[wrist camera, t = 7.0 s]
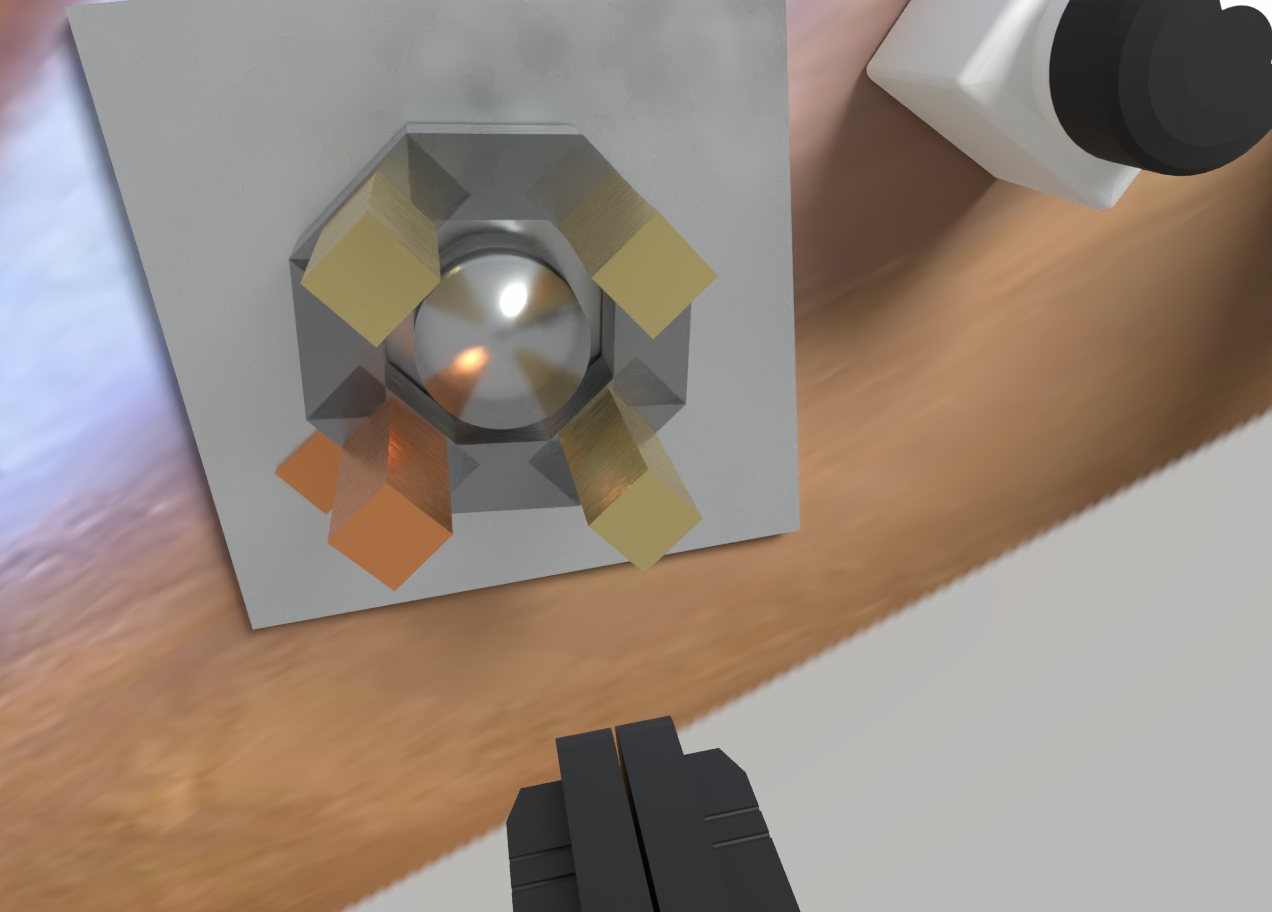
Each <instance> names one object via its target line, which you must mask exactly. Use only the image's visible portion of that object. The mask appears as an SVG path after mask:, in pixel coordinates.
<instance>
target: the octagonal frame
mask: <svg viewBox="0 0 1272 912" xmlns="http://www.w3.org/2000/svg"><path fill="white" fill-rule="evenodd" d="M447 220H549V221H550V222H551V223H552V224H553V225H554V226H555V227H556V228H557V229H558V230H559V231H560V232H561V233H562V234H563V235H564V236H565V237H566V238H567V240H568V241H569V243H570V244H571V246H572V248H573V249H574V251H575V252H576V254H577V256H578V257H579V259H580V261H581V262H582V264H583V265H584V267H585V269H586V270H587V272H588V273H589V275H590V277H591V278H592V279H593V280H594V281H595V282H596V283H597V284H598V285H599V286H600V287H601V288H602V289H603V318H602V355H601V356H600V357H599V358H598V359H597V360H596V361H595V362H594V363H593V364H592V365H591V366H590V367H589V368H588V369H587V370H586V372H585V375H584V377H583V379H582V381H581V383H580V385H579V387H578V388H577V390H576V391H575V393H574V394H573V396H572V397H571V398H570V399H569V400H568V401H567V402H566V403H565V404H564V405H563V406H562V407H561V408H560V409H558V410H557V411H556V412H554V413H553V414H551V415H550V416H548V417H546V418H544V419H542V420H540V421H538V422H536V423H533V424H530V425H528V426H523V427H519V428H512V429H490V428H483V427H479V426H476V425H472V424H469V423H467V422H465V421H462V420H460V419H458V418H454V417H452V416H451V415H450V414H449V413H448V412H446V411H445V410H444V409H443V408H442V407H440V406H439V405H438V404H437V403H436V402H434V401H433V400H432V399H431V398H430V397H429V396H427V395H426V394H425V393H424V392H423V391H421V390H420V389H419V388H418V387H417V386H415V385H414V384H413V383H412V382H411V381H409V380H408V379H407V378H406V377H405V376H403V375H402V374H401V373H400V372H399V371H398V370H396V369H395V368H394V367H393V366H392V365H390V364H389V363H388V362H387V350H386V337H387V336H388V335H389V334H390V333H391V332H392V331H393V330H394V329H395V328H396V327H397V326H398V325H399V324H400V323H401V322H402V321H403V320H404V319H405V318H406V317H407V316H408V314H409V313H410V312H411V311H412V310H413V309H414V308H415V307H416V306H417V305H418V304H419V303H420V302H421V301H422V300H423V299H424V298H425V297H426V296H427V295H428V294H429V293H430V292H431V291H432V290H433V289H434V288H435V287H436V286H437V285H438V284H439V282H440V281H441V275H440V263H439V252H438V240H437V230H438V229H439V228H440V227H441V226H442V225H443V224H444V223H445V222H446V221H447ZM289 266H290V275H291V284H292V294H293V303H294V312H295V322H296V331H297V340H298V350H299V359H300V368H301V378H302V387H303V396H304V406H305V415H306V421H308V422H309V423H310V424H312V425H313V426H314V427H315V428H317V429H318V430H319V431H321V432H322V433H323V434H324V435H326V436H327V437H328V438H330V439H331V440H332V441H334V442H335V443H336V444H337V445H339V446H340V447H341V448H343V449H342V455H341V461H340V467H339V473H338V479H337V486H336V492H335V498H334V504H333V510H332V516H331V522H330V528H329V534H328V540H327V543H328V544H330V545H331V546H332V547H334V548H335V549H336V550H338V551H339V552H341V553H342V554H343V555H345V556H346V557H348V558H349V559H350V560H352V561H353V562H354V563H356V564H357V565H359V566H360V567H361V568H363V569H364V570H366V571H367V572H368V573H370V574H371V575H373V576H374V577H375V578H377V579H378V580H379V581H381V582H382V583H384V584H385V585H386V586H388V587H389V588H391V589H392V590H393V591H396V590H397V589H398V588H399V587H400V586H401V585H402V584H403V583H404V582H405V581H406V580H407V579H408V578H409V577H410V576H411V575H412V574H413V573H414V572H415V571H416V570H417V569H418V568H419V567H420V566H421V565H422V564H423V563H424V562H426V561H427V560H428V559H429V558H430V557H431V556H432V555H433V554H434V553H435V552H436V551H437V550H438V549H439V548H440V547H441V546H442V545H443V544H444V543H445V542H446V541H447V540H448V539H449V538H450V537H451V536H452V535H453V528H452V514H455V513H472V512H489V511H505V510H522V509H539V508H555V507H572V506H580V505H582V508H583V511H584V514H585V517H586V521H587V524H588V526H589V527H590V528H591V529H592V530H594V531H595V532H596V533H597V534H598V535H599V536H601V537H602V538H603V539H604V540H605V541H607V542H608V543H609V544H610V545H611V546H613V547H614V548H615V549H616V550H617V551H618V552H620V553H621V554H622V555H623V556H624V557H626V558H627V559H628V560H629V561H630V562H632V563H633V564H634V565H635V566H636V567H637V568H639V569H640V570H641V571H642V572H643V573H645V572H646V571H647V570H648V569H649V568H650V567H652V566H653V565H654V564H655V563H656V562H657V561H658V560H659V559H660V558H661V557H662V556H663V555H664V554H666V553H667V552H668V551H669V550H670V549H671V548H672V547H673V546H674V545H675V544H676V543H677V542H678V541H680V540H681V539H682V538H683V537H684V536H685V535H686V534H687V533H688V532H689V531H690V530H691V529H692V528H694V527H695V526H696V525H697V524H698V523H699V522H700V521H701V520H702V519H703V518H702V516H701V514H700V513H699V511H698V509H697V507H696V505H695V503H694V502H693V500H692V498H691V496H690V494H689V493H688V491H687V489H686V487H685V485H684V483H683V482H682V480H681V478H680V476H679V474H678V473H677V471H676V469H675V467H674V465H673V463H672V462H671V460H670V458H669V456H668V454H667V453H666V451H665V449H664V447H663V445H662V443H661V442H660V440H659V438H658V436H657V434H656V433H657V432H658V431H659V430H660V429H661V428H662V427H663V426H664V425H665V424H666V423H667V422H668V421H669V420H670V419H671V418H672V417H673V416H674V415H675V414H676V413H677V412H678V411H680V410H681V409H682V408H683V407H684V406H685V405H686V396H687V377H688V358H689V340H690V321H691V303H692V301H693V300H694V299H695V298H696V297H697V296H698V295H699V294H700V293H701V292H703V291H704V290H705V289H706V288H707V287H708V286H709V285H710V284H711V283H712V282H713V281H714V280H715V279H716V278H717V277H718V275H717V274H716V273H715V272H714V271H713V270H712V269H711V267H710V266H709V265H708V264H707V263H706V262H705V261H704V260H703V259H702V258H701V257H700V256H699V255H698V254H697V252H696V251H695V250H694V249H693V248H692V247H691V246H690V245H689V244H688V243H687V242H686V241H685V240H684V239H683V237H682V236H681V235H680V234H679V233H678V232H677V231H676V230H675V229H674V228H673V227H672V226H671V225H670V224H669V222H668V221H667V220H666V219H665V218H664V217H663V216H662V215H661V214H660V213H659V212H658V211H657V210H656V209H655V208H654V207H653V206H652V205H650V204H649V203H648V202H647V201H646V200H645V199H644V198H642V197H641V196H640V195H639V194H638V193H637V192H636V191H635V190H634V189H633V188H632V187H631V186H630V184H629V183H628V182H627V181H626V180H625V179H624V178H623V177H622V176H621V175H620V174H619V173H618V172H617V171H616V169H615V168H614V167H613V166H612V165H611V164H610V163H609V162H608V161H607V160H606V159H605V158H604V157H603V156H602V154H601V153H600V152H599V151H598V150H597V149H596V148H595V147H594V146H593V145H592V144H591V143H590V142H589V141H588V139H587V138H586V137H585V136H584V135H583V134H582V133H580V132H579V131H578V130H577V129H576V128H574V127H573V126H572V125H484V124H406V125H405V126H404V128H403V129H402V130H401V131H400V132H399V133H398V134H397V135H396V136H395V137H394V138H393V139H392V140H391V141H390V143H389V144H388V145H387V146H386V147H385V148H384V149H383V150H382V151H381V152H380V153H379V154H378V155H377V157H376V158H375V159H374V160H373V161H372V162H371V163H370V164H369V165H368V166H367V167H366V168H365V169H364V171H363V172H362V173H361V174H360V175H359V176H358V177H357V178H356V179H355V180H354V181H353V182H352V183H351V184H350V186H349V187H348V188H347V189H346V190H345V191H344V192H343V193H342V194H341V195H340V196H339V197H338V198H337V200H336V201H335V202H334V203H333V204H332V205H331V206H330V207H329V208H328V209H327V210H326V211H325V212H324V213H323V215H322V216H321V217H320V218H319V219H318V220H317V221H316V222H315V223H314V224H313V225H312V226H311V227H310V229H309V230H308V231H307V232H306V233H305V234H304V235H303V236H302V237H301V238H300V239H299V240H298V241H297V243H296V245H295V247H294V249H293V251H292V253H291V255H290V258H289Z"/></svg>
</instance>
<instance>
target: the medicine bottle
mask: <svg viewBox="0 0 1272 912" xmlns="http://www.w3.org/2000/svg"><path fill="white" fill-rule="evenodd" d="M866 71H867V75H868V76H869V78H870V79H871V80H872V81H874V82H875V83H876V84H877V85H879V86H880V87H881V88H882V89H884V90H885V91H886V92H888V93H889V94H890V95H891V96H893V97H894V98H895V99H896V100H898V101H899V102H900V103H902V104H903V105H904V106H905V107H907V108H908V109H909V110H910V111H912V112H913V113H914V114H916V115H917V116H918V117H919V118H921V119H922V120H923V121H924V122H926V123H927V124H928V125H929V126H931V127H932V128H933V129H935V130H936V131H937V132H938V133H940V134H941V135H942V136H943V137H945V138H946V139H947V140H949V141H950V142H951V143H952V144H954V145H955V146H956V147H957V148H959V149H960V150H961V151H962V152H964V153H965V154H966V155H968V156H969V157H970V158H971V159H973V160H974V161H975V162H976V163H978V164H979V165H980V166H982V167H983V168H984V169H985V170H987V171H988V172H989V173H990V174H992V175H993V176H994V177H996V178H999V179H1002V180H1005V181H1008V182H1011V183H1014V184H1018V185H1021V186H1024V187H1027V188H1031V189H1034V190H1037V191H1040V192H1043V193H1047V194H1050V195H1053V196H1056V197H1059V198H1063V199H1066V200H1069V201H1072V202H1076V203H1079V204H1082V205H1085V206H1088V207H1092V208H1095V209H1098V210H1101V211H1102V210H1107V209H1111V208H1112V207H1113V206H1114V205H1115V204H1116V202H1117V201H1118V200H1119V198H1120V197H1121V196H1122V194H1123V193H1124V192H1125V191H1126V189H1127V188H1128V187H1129V185H1130V184H1131V183H1132V181H1133V180H1134V179H1135V177H1136V176H1137V175H1138V173H1139V172H1140V171H1141V169H1143V170H1147V171H1152V172H1156V173H1160V174H1164V175H1173V176H1191V175H1196V174H1201V173H1206V172H1209V171H1212V170H1214V169H1217V168H1220V167H1222V166H1224V165H1226V164H1228V163H1230V162H1232V161H1234V160H1235V159H1237V158H1238V157H1240V156H1241V155H1243V154H1244V153H1246V152H1247V151H1248V150H1249V149H1251V148H1252V147H1253V146H1254V145H1255V144H1257V143H1258V142H1259V141H1260V140H1261V139H1262V138H1263V137H1264V136H1265V135H1266V134H1267V133H1268V132H1269V131H1270V130H1271V129H1272V0H911V1H910V2H909V4H908V5H907V7H906V8H905V10H904V11H903V13H902V14H901V16H900V17H899V19H898V20H897V22H896V23H895V25H894V26H893V28H892V29H891V31H890V32H889V34H888V35H887V37H886V38H885V40H884V41H883V43H882V44H881V46H880V47H879V49H878V50H877V52H876V53H875V55H874V56H873V58H872V59H871V61H870V62H869V64H868V66H867V68H866Z"/></svg>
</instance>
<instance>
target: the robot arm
mask: <svg viewBox="0 0 1272 912" xmlns="http://www.w3.org/2000/svg"><path fill="white" fill-rule="evenodd" d="M615 732H616V740H617V747H618V754H619V760H618V755H617V751H616V747H615V742H614V738H613V734H612V730H611V728H606V729H601V730H596V731H591V732H586V733H581V734H576V735H571V736H566V737H561V738H556V746H557V752H558V759H559V765H560V772H561V779H562V780H560V781H555V782H550V783H545V784H540V785H536V786H531V787H526V788H521V789H520V791H519V794H518V796H517V798H516V801H515V803H514V805H513V808H512V810H511V813H510V815H509V817H508V820H507V822H506V825H507V838H508V851H509V860H510V876H511V887H512V903H513V912H800V910H799V907H798V904H797V901H796V899H795V896H794V894H793V892H792V889H791V886H790V884H789V881H788V879H787V876H786V874H785V871H784V869H783V866H782V864H781V861H780V858H779V856H778V853H777V851H776V848H775V846H774V843H773V841H772V838H770V835H769V830H768V828H767V825H766V823H765V820H764V818H763V815H762V813H761V811H760V810H759V806H758V802H757V800H756V797H755V795H754V792H753V790H752V787H751V785H750V782H749V780H748V778H747V775H746V772H745V771H743V770H742V769H741V768H740V767H739V766H738V765H737V764H736V763H735V762H734V761H733V760H731V759H730V758H729V757H728V756H727V755H726V754H725V753H724V752H723V751H722V750H720V749H719V748H716V749H711V750H707V751H701V752H696V753H691V754H686V755H684V754H683V751H682V748H681V745H680V742H679V739H678V736H677V732H676V729H675V726H674V723H673V720H672V718H671V716H665V717H660V718H655V719H650V720H645V721H640V722H635V723H630V724H625V725H620V726H615ZM619 761H620V764H619Z"/></svg>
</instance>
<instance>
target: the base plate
mask: <svg viewBox="0 0 1272 912" xmlns="http://www.w3.org/2000/svg"><path fill="white" fill-rule="evenodd" d="M65 10H66V13H67V16H68V20H69V23H70V26H71V30H72V33H73V36H74V40H75V43H76V46H77V49H78V53H79V56H80V59H81V63H82V66H83V69H84V73H85V76H86V79H87V83H88V86H89V89H90V92H91V96H92V99H93V102H94V106H95V109H96V112H97V116H98V119H99V122H100V126H101V129H102V132H103V136H104V139H105V142H106V145H107V149H108V152H109V155H110V159H111V162H112V165H113V169H114V172H115V175H116V179H117V182H118V185H119V188H120V192H121V195H122V198H123V202H124V205H125V208H126V212H127V215H128V218H129V222H130V225H131V228H132V231H133V235H134V238H135V241H136V245H137V248H138V251H139V255H140V258H141V261H142V265H143V268H144V271H145V274H146V278H147V281H148V284H149V288H150V291H151V294H152V298H153V301H154V304H155V308H156V311H157V314H158V318H159V321H160V324H161V327H162V331H163V334H164V337H165V341H166V344H167V347H168V351H169V354H170V357H171V361H172V364H173V367H174V370H175V374H176V377H177V380H178V384H179V387H180V390H181V394H182V397H183V400H184V404H185V407H186V410H187V413H188V417H189V420H190V423H191V427H192V430H193V433H194V437H195V440H196V443H197V447H198V450H199V453H200V456H201V460H202V463H203V466H204V470H205V473H206V476H207V480H208V483H209V486H210V490H211V493H212V496H213V500H214V503H215V506H216V509H217V513H218V516H219V519H220V523H221V526H222V529H223V533H224V536H225V539H226V543H227V546H228V549H229V552H230V556H231V559H232V562H233V566H234V569H235V572H236V576H237V579H238V582H239V586H240V589H241V592H242V595H243V599H244V602H245V605H246V609H247V612H248V615H249V619H250V622H251V625H252V629H259V628H264V627H270V626H275V625H281V624H286V623H292V622H297V621H303V620H308V619H314V618H319V617H325V616H330V615H336V614H341V613H347V612H352V611H358V610H363V609H369V608H374V607H380V606H385V605H391V604H396V603H402V602H407V601H413V600H418V599H424V598H429V597H435V596H440V595H446V594H451V593H457V592H462V591H468V590H473V589H479V588H484V587H490V586H495V585H501V584H506V583H512V582H517V581H523V580H528V579H534V578H539V577H545V576H550V575H556V574H561V573H567V572H572V571H578V570H583V569H589V568H594V567H600V566H605V565H611V564H616V563H622V562H627V561H629V560H628V559H627V558H626V557H624V556H623V555H622V554H621V553H620V552H618V551H617V550H616V549H615V548H614V547H613V546H611V545H610V544H609V543H608V542H607V541H605V540H604V539H603V538H602V537H601V536H599V535H598V534H597V533H596V532H595V531H594V530H592V529H591V528H590V527H589V526H588V524H587V521H586V517H585V514H584V511H583V508H582V505H580V506H572V507H555V508H539V509H522V510H505V511H489V512H472V513H455V514H452V528H453V535H452V536H451V537H450V538H449V539H448V540H447V541H446V542H445V543H444V544H443V545H442V546H441V547H440V548H439V549H438V550H437V551H436V552H435V553H434V554H433V555H432V556H431V557H430V558H429V559H428V560H427V561H426V562H424V563H423V564H422V565H421V566H420V567H419V568H418V569H417V570H416V571H415V572H414V573H413V574H412V575H411V576H410V577H409V578H408V579H407V580H406V581H405V582H404V583H403V584H402V585H401V586H400V587H399V588H398V589H397V590H396V591H393V590H392V589H391V588H389V587H388V586H386V585H385V584H384V583H382V582H381V581H379V580H378V579H377V578H375V577H374V576H373V575H371V574H370V573H368V572H367V571H366V570H364V569H363V568H361V567H360V566H359V565H357V564H356V563H354V562H353V561H352V560H350V559H349V558H348V557H346V556H345V555H343V554H342V553H341V552H339V551H338V550H336V549H335V548H334V547H332V546H331V545H330V544H328V543H327V540H328V534H329V528H330V522H331V516H332V510H333V504H334V498H335V492H336V486H337V479H338V473H339V467H340V461H341V455H342V449H343V448H341V447H340V446H339V445H337V444H336V443H335V442H334V441H332V440H331V439H330V438H328V437H327V436H326V435H324V434H323V433H322V432H321V431H319V430H318V429H317V428H315V427H314V426H313V425H312V424H310V423H309V422H308V421H306V415H305V406H304V396H303V387H302V378H301V368H300V359H299V350H298V340H297V331H296V322H295V312H294V303H293V294H292V284H291V275H290V266H289V258H290V255H291V253H292V251H293V249H294V247H295V245H296V243H297V241H298V240H299V239H300V238H301V237H302V236H303V235H304V234H305V233H306V232H307V231H308V230H309V229H310V227H311V226H312V225H313V224H314V223H315V222H316V221H317V220H318V219H319V218H320V217H321V216H322V215H323V213H324V212H325V211H326V210H327V209H328V208H329V207H330V206H331V205H332V204H333V203H334V202H335V201H336V200H337V198H338V197H339V196H340V195H341V194H342V193H343V192H344V191H345V190H346V189H347V188H348V187H349V186H350V184H351V183H352V182H353V181H354V180H355V179H356V178H357V177H358V176H359V175H360V174H361V173H362V172H363V171H364V169H365V168H366V167H367V166H368V165H369V164H370V163H371V162H372V161H373V160H374V159H375V158H376V157H377V155H378V154H379V153H380V152H381V151H382V150H383V149H384V148H385V147H386V146H387V145H388V144H389V143H390V141H391V140H392V139H393V138H394V137H395V136H396V135H397V134H398V133H399V132H400V131H401V130H402V129H403V128H404V126H405V125H406V124H484V125H572V126H573V127H574V128H576V129H577V130H578V131H579V132H580V133H582V134H583V135H584V136H585V137H586V138H587V139H588V141H589V142H590V143H591V144H592V145H593V146H594V147H595V148H596V149H597V150H598V151H599V152H600V153H601V154H602V156H603V157H604V158H605V159H606V160H607V161H608V162H609V163H610V164H611V165H612V166H613V167H614V168H615V169H616V171H617V172H618V173H619V174H620V175H621V176H622V177H623V178H624V179H625V180H626V181H627V182H628V183H629V184H630V186H631V187H632V188H633V189H634V190H635V191H636V192H637V193H638V194H639V195H640V196H641V197H642V198H644V199H645V200H646V201H647V202H648V203H649V204H650V205H652V206H653V207H654V208H655V209H656V210H657V211H658V212H659V213H660V214H661V215H662V216H663V217H664V218H665V219H666V220H667V221H668V222H669V224H670V225H671V226H672V227H673V228H674V229H675V230H676V231H677V232H678V233H679V234H680V235H681V236H682V237H683V239H684V240H685V241H686V242H687V243H688V244H689V245H690V246H691V247H692V248H693V249H694V250H695V251H696V252H697V254H698V255H699V256H700V257H701V258H702V259H703V260H704V261H705V262H706V263H707V264H708V265H709V266H710V267H711V269H712V270H713V271H714V272H715V273H716V274H717V275H718V277H717V278H716V279H715V280H714V281H713V282H712V283H711V284H710V285H709V286H708V287H707V288H706V289H705V290H704V291H703V292H701V293H700V294H699V295H698V296H697V297H696V298H695V299H694V300H693V301H692V303H691V321H690V340H689V358H688V377H687V396H686V405H685V406H684V407H683V408H682V409H681V410H680V411H678V412H677V413H676V414H675V415H674V416H673V417H672V418H671V419H670V420H669V421H668V422H667V423H666V424H665V425H664V426H663V427H662V428H661V429H660V430H659V431H658V432H657V433H656V434H657V436H658V438H659V440H660V442H661V443H662V445H663V447H664V449H665V451H666V453H667V454H668V456H669V458H670V460H671V462H672V463H673V465H674V467H675V469H676V471H677V473H678V474H679V476H680V478H681V480H682V482H683V483H684V485H685V487H686V489H687V491H688V493H689V494H690V496H691V498H692V500H693V502H694V503H695V505H696V507H697V509H698V511H699V513H700V514H701V516H702V518H703V519H702V520H701V521H700V522H699V523H698V524H697V525H696V526H695V527H694V528H692V529H691V530H690V531H689V532H688V533H687V534H686V535H685V536H684V537H683V538H682V539H681V540H680V541H678V542H677V543H676V544H675V545H674V546H673V547H672V548H671V549H670V550H669V551H668V552H667V553H666V554H672V553H677V552H683V551H688V550H694V549H699V548H705V547H710V546H716V545H721V544H727V543H732V542H738V541H743V540H749V539H754V538H760V537H765V536H771V535H776V534H782V533H787V532H793V531H798V530H800V511H799V475H798V439H797V402H796V366H795V330H794V294H793V257H792V221H791V185H790V149H789V112H788V76H787V40H786V4H785V0H128V1H118V2H108V3H98V4H87V5H77V6H67V7H65ZM437 240H438V252H439V263H440V275H441V281H440V282H439V284H438V285H437V286H436V287H435V288H434V289H433V290H432V291H431V292H430V293H429V294H428V295H427V296H426V297H425V298H424V299H423V300H422V301H421V302H420V303H419V304H418V305H417V306H416V307H415V308H414V309H413V310H412V311H411V312H410V313H409V314H408V316H407V317H406V318H405V319H404V320H403V321H402V322H401V323H400V324H399V325H398V326H397V327H396V328H395V329H394V330H393V331H392V332H391V333H390V334H389V335H388V336H387V337H386V350H387V362H388V363H389V364H390V365H392V366H393V367H394V368H395V369H396V370H398V371H399V372H400V373H401V374H402V375H403V376H405V377H406V378H407V379H408V380H409V381H411V382H412V383H413V384H414V385H415V386H417V387H418V388H419V389H420V390H421V391H423V392H424V393H425V394H426V395H427V396H429V397H430V398H431V399H432V400H433V401H434V402H436V403H437V404H438V405H439V406H440V407H442V408H443V409H444V410H445V411H446V412H448V413H449V414H450V415H451V416H452V417H454V418H458V419H460V420H462V421H465V422H467V423H469V424H472V425H476V426H479V427H483V428H490V429H512V428H519V427H523V426H528V425H530V424H533V423H536V422H538V421H540V420H542V419H544V418H546V417H548V416H550V415H551V414H553V413H554V412H556V411H557V410H558V409H560V408H561V407H562V406H563V405H564V404H565V403H566V402H567V401H568V400H569V399H570V398H571V397H572V396H573V394H574V393H575V391H576V390H577V388H578V387H579V385H580V383H581V381H582V379H583V377H584V375H585V372H586V370H587V369H588V368H589V367H590V366H591V365H592V364H593V363H594V362H595V361H596V360H597V359H598V358H599V357H600V356H601V355H602V318H603V289H602V288H601V287H600V286H599V285H598V284H597V283H596V282H595V281H594V280H593V279H592V278H591V277H590V275H589V273H588V272H587V270H586V269H585V267H584V265H583V264H582V262H581V261H580V259H579V257H578V256H577V254H576V252H575V251H574V249H573V248H572V246H571V244H570V243H569V241H568V240H567V238H566V237H565V236H564V235H563V234H562V233H561V232H560V231H559V230H558V229H557V228H556V227H555V226H554V225H553V224H552V223H551V222H550V221H549V220H447V221H446V222H445V223H444V224H443V225H442V226H441V227H440V228H439V229H438V230H437ZM666 554H664V555H666Z"/></svg>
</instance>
